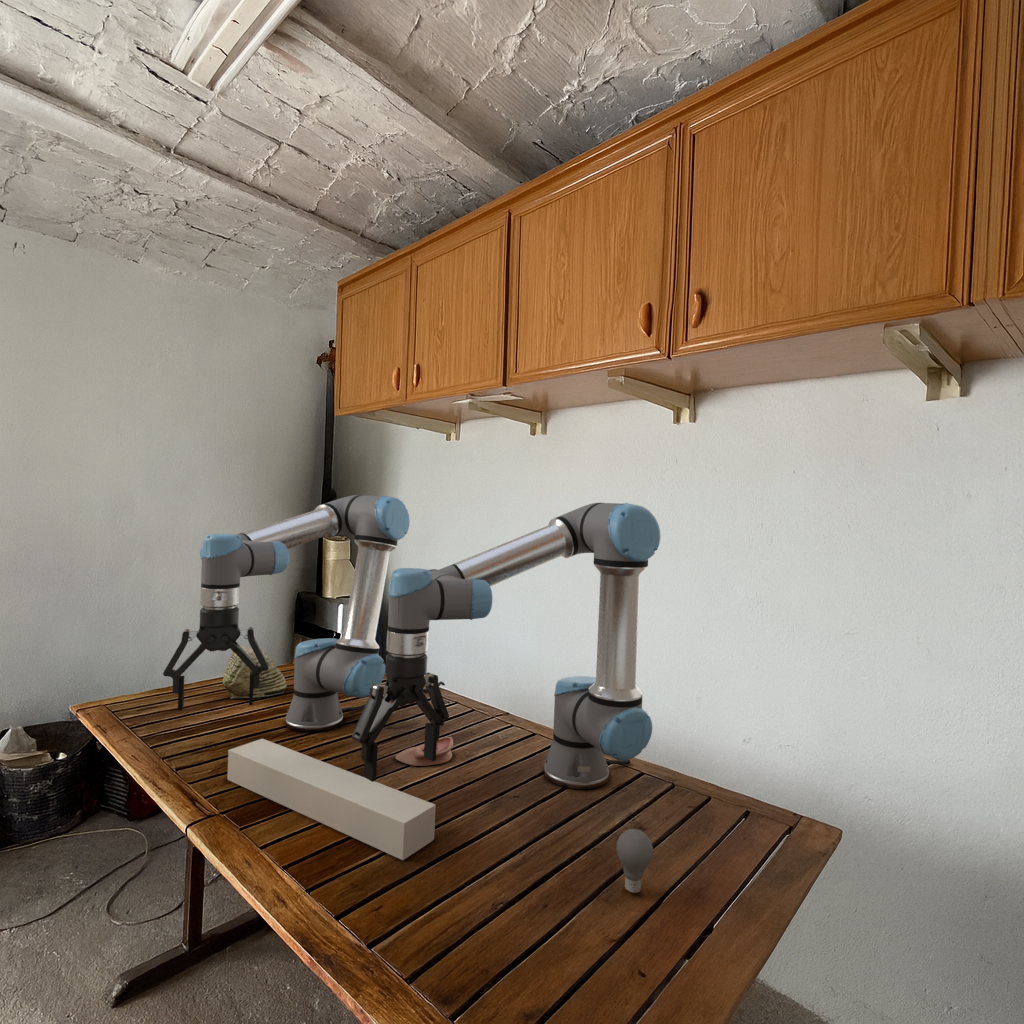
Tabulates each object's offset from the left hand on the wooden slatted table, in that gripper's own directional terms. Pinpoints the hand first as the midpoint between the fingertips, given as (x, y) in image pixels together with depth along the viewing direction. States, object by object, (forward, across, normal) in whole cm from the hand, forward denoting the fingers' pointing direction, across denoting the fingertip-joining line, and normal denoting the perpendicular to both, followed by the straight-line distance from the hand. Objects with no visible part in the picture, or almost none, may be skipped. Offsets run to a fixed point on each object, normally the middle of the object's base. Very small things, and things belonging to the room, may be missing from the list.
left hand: (216, 705), depth 135 cm
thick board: (+18, +21, -15) cm, 31 cm away
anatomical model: (+18, +47, +4) cm, 50 cm away
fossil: (+18, +7, +64) cm, 67 cm away
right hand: (+4, +33, -33) cm, 47 cm away
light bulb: (+18, +67, -58) cm, 91 cm away
